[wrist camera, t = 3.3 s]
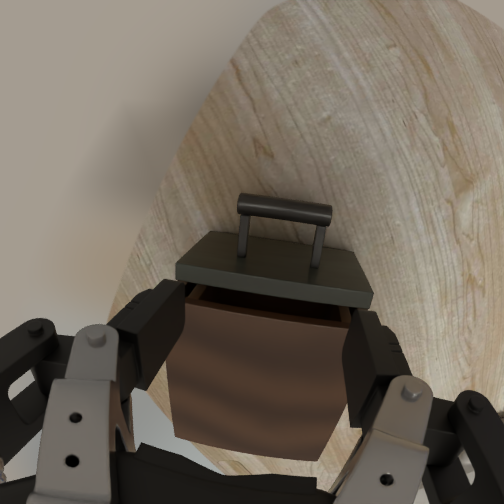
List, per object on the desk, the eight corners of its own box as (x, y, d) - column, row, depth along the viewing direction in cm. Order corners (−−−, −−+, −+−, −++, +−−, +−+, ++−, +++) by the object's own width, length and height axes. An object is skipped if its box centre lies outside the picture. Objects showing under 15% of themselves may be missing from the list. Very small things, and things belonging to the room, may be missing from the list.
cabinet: (205, 250, 27) (161, 298, 18) (353, 272, 26) (376, 331, 17) (201, 375, 32) (174, 436, 23) (317, 394, 31) (317, 461, 22)
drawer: (213, 180, 24) (177, 194, 17) (363, 201, 23) (391, 224, 15) (204, 360, 30) (181, 412, 23) (318, 379, 29) (320, 436, 22)
